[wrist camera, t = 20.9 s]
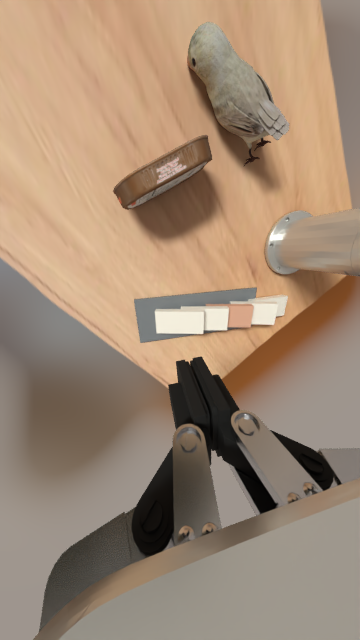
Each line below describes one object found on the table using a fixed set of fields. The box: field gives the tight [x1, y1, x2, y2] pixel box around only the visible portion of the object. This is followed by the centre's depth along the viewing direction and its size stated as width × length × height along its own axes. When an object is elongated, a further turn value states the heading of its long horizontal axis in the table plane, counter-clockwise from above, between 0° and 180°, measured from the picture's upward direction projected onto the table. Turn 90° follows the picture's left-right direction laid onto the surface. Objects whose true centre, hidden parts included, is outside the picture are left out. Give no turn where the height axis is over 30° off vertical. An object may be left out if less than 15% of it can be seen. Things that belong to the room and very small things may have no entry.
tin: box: [113, 135, 212, 210], centre depth 25 cm, size 15×3×8 cm, turn 116°
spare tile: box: [206, 304, 254, 327], centre depth 38 cm, size 2×5×10 cm
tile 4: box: [230, 301, 278, 325], centre depth 39 cm, size 2×5×10 cm
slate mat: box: [134, 288, 257, 343], centre depth 39 cm, size 28×10×1 cm, turn 92°
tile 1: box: [155, 309, 204, 334], centre depth 36 cm, size 2×5×10 cm
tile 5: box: [248, 295, 288, 317], centre depth 42 cm, size 2×5×10 cm
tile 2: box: [181, 306, 229, 330], centre depth 37 cm, size 2×5×10 cm
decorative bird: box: [187, 22, 289, 166], centre depth 24 cm, size 5×16×8 cm, turn 53°
